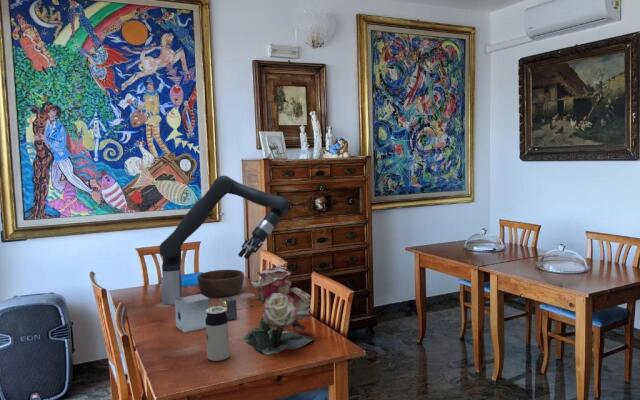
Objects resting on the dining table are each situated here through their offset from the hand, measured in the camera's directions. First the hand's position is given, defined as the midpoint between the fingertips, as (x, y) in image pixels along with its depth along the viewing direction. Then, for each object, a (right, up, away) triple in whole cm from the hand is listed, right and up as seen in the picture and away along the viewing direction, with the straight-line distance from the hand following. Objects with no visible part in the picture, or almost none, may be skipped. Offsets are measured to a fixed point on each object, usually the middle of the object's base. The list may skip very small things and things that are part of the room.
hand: (242, 257), depth 255 cm
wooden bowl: (-16, -23, +29) cm, 40 cm away
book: (-42, -22, +54) cm, 71 cm away
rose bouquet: (+23, -28, -49) cm, 61 cm away
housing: (-17, -27, -28) cm, 43 cm away
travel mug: (+1, -30, -64) cm, 71 cm away
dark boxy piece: (-9, -26, -22) cm, 35 cm away
